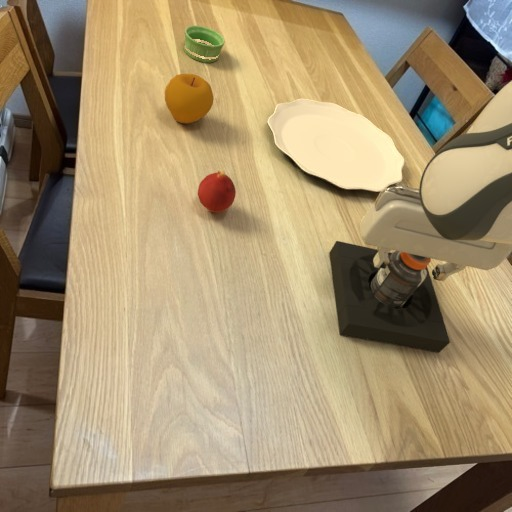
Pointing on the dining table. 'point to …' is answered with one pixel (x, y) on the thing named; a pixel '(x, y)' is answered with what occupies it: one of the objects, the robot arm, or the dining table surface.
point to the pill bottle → (399, 278)
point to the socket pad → (378, 314)
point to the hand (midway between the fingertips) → (408, 271)
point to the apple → (188, 97)
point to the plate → (336, 145)
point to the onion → (216, 192)
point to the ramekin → (203, 48)
